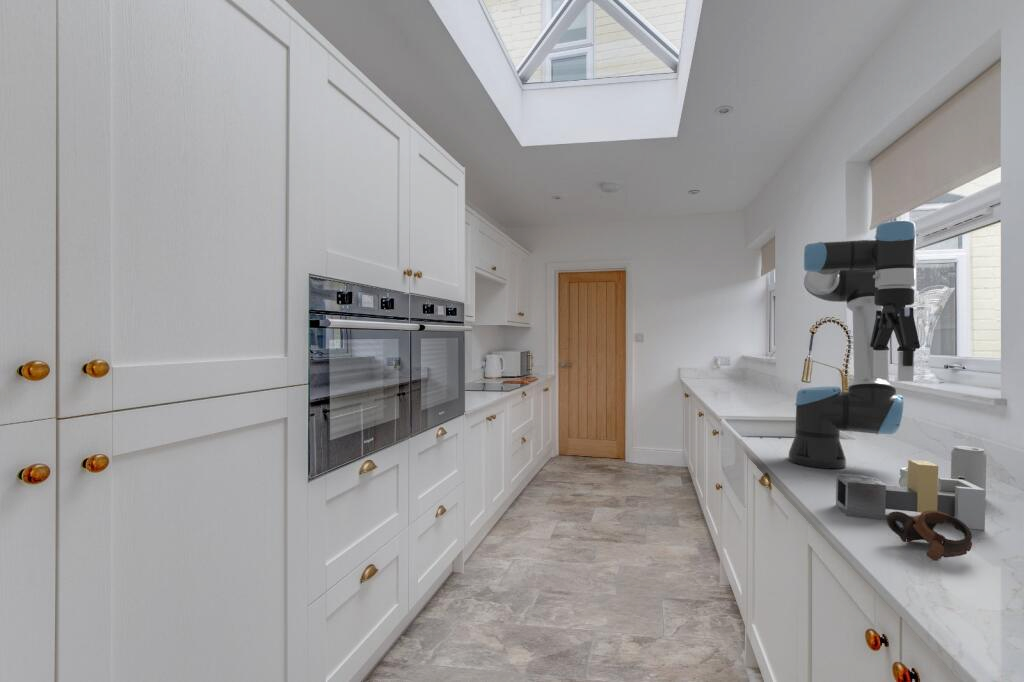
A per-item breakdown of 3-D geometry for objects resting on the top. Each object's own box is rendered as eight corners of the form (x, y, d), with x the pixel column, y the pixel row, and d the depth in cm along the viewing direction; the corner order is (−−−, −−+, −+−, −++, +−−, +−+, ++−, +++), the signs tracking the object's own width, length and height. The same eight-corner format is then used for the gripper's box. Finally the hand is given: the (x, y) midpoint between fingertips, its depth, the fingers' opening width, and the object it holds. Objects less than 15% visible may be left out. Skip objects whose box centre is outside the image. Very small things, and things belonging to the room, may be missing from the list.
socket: (937, 514, 111) (938, 477, 111) (962, 516, 110) (963, 479, 110) (957, 527, 104) (958, 487, 104) (984, 530, 102) (985, 490, 102)
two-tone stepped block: (863, 501, 114) (864, 456, 114) (955, 510, 109) (956, 463, 109) (871, 507, 109) (872, 461, 109) (967, 517, 105) (968, 468, 104)
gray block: (835, 505, 116) (836, 473, 116) (871, 508, 114) (872, 476, 114) (847, 515, 109) (847, 481, 109) (885, 519, 107) (886, 485, 107)
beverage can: (989, 502, 120) (990, 451, 120) (953, 498, 123) (955, 448, 123) (981, 495, 126) (982, 446, 126) (947, 491, 129) (948, 443, 129)
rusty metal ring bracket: (960, 550, 94) (978, 519, 89) (958, 589, 87) (977, 558, 83) (882, 519, 100) (896, 489, 96) (875, 553, 94) (889, 523, 90)
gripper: (856, 293, 133) (854, 374, 133) (899, 283, 109) (896, 382, 109) (890, 292, 131) (888, 375, 131) (941, 282, 107) (938, 383, 107)
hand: (892, 378), depth 120 cm, fingers open, 13 cm apart
